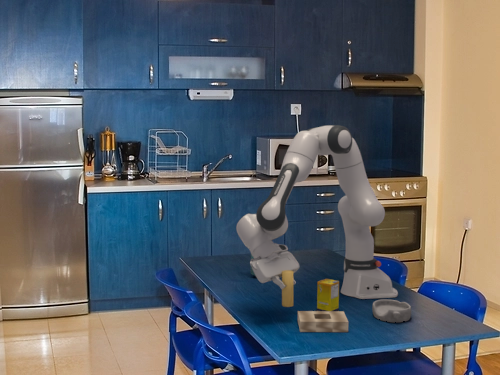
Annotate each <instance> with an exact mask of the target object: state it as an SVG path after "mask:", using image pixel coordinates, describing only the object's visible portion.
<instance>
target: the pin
mask: <svg viewBox="0 0 500 375" xmlns="http://www.w3.org/2000/svg"><path fill="white" fill-rule="evenodd" d="M293 278H294V273H293V271H291V270H284V271H282V277H281V281H282V282H285V284H286V285H287V286H286V287H285V288H284V289H281V306H282V307H284V308H290V307H294V285H293Z"/></svg>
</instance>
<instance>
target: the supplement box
mask: <svg viewBox="0 0 500 375" xmlns="http://www.w3.org/2000/svg"><path fill="white" fill-rule="evenodd" d="M316 283H317V286H316V287H317V288H316V289H317V290H316V291H317V293H316V294H317V295H316V300H317V301H316V311H339V310H340V309H339V308H340V307H339V306H340V305H339V303H340V301H339V300H340V281H339V280H334V279H330V278H325V279H321V280H319V281H317V282H316Z"/></svg>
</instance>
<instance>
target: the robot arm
mask: <svg viewBox="0 0 500 375" xmlns="http://www.w3.org/2000/svg"><path fill="white" fill-rule="evenodd" d="M329 155H331V157H332V161H333V166H334V170H335V173H336V177H337V180H338V184H339V185H338V186H339V188H340V189H341V190H342V192H343V193H344V195H343V197H341V198H340V199H339V201H338V203H337V211H338V213H339V215H340V217H341V220H342V221H341V222H342V226H343V229H344V230H343V231H344V235H345V236H344V238H345V256H344V258H343V271H344V274H343V282H342V286H341V289H340V293H341V294H342V295H344V296H348V297H352V298H356V299H359V300H361V299H362V300H365V299H367V300H368V299H370V300H371V299H387V298H388V299H390V298H397V297H398V295H399V292H398V290H397V289H396V288H394V287H393V282H392V280H391V278H390V276H389V275H387V274H386V273H385V272H384V271H383V270H381V269H380V267H381V266H382V262H381V261H380V260H378V259H376V258H374V254H375V252H374V251H375V250H374V249H375V246H374V245H375V240H374V236H373V235H372V233H371V229H370V227H376V226H379V225H380V224H381V223H382V222H383V221H384V219H385V216H386V211H385V207H384V206H383V204H381V202H380V201H379V200H378V198H377V196H376V194H375V192H374V189H373V188H372V186H371V183H370V181H369V179H368V176H367V173H366V168H365V165H364V164H365V163H364V161H363V157H362V153H361V150H360V149H359V146H358V144H357V142H356V140H355V138H353V135H352V133H351V131H350V130H349V128H347V127H346V126H343V125H339V124H335V125H331V124H330V125H329V124H328V125H321V126H319V127H318V126H317V127H311V128H308V129H307V130H301V131H299V132H297V133H296V135H295V136H294V137H293V139H292V140H291V142H290V144H289V146H288V148H287V150H286V153H285V154H284V157H283V161H282V163H281V167H280V171H279V173H278V176H277V179H276V181H275V183H274V185H273V187H272V189H271V191H270V192H269V195H268V197H267V198H266V199H265V200H263V202H262V203H261V204H260V205H259V207H257V210H256V213H246V214H245V215H243V216H242V217H241V218H240V219H239V220H238V221H237V223H236V228H235V229H236V233H237V235H238V237H239V239H240V240H241V241H242V243H243V244H244V246H245V247H246V248H247V249H248V250H249V252H250V255H251V254H252V256H253V257H254V258H253V259H251V258H250V260H249V265H250V267H251V266H252V269H253V272H254V273H255V275H254V276H255V278H256V279H257V280H258V281H259V283H261V284H265V283H267V282H273V283H274V284H275V285H277V286H278V287H279V288H280V289H281V290H282V289H284V288H285V287H286V286H287V285H286V284H285V282H282V279H280V278H282V271H284V270H291V271H293V274H295V273H297V271H298V270H299V269H300V263H299V262H298V261H297V259H296V256H294V255H293V253H291V252H290V251H288V250H289V248H288V245H285V244H280V243H277V242H274V240H277V239H278V238H280V237H282V236H283V235H285V234H286V233H287V231H288V228H289V221H288V217H287V214H286V204H287V203H288V202H287V201H288V199H289V197H290V195H291V192H292V190H293V189H294V186H295V185H296V184H297V183H302V182H304V181H306V180H307V179H308V177H309V175H310V174H311V172H312V170H313V167H314V165H315V163H316V161H317V160H316V159H317V156H329ZM294 278H295V277H293V286H295V285H296V283H297V282H296V280H295V279H294Z"/></svg>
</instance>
